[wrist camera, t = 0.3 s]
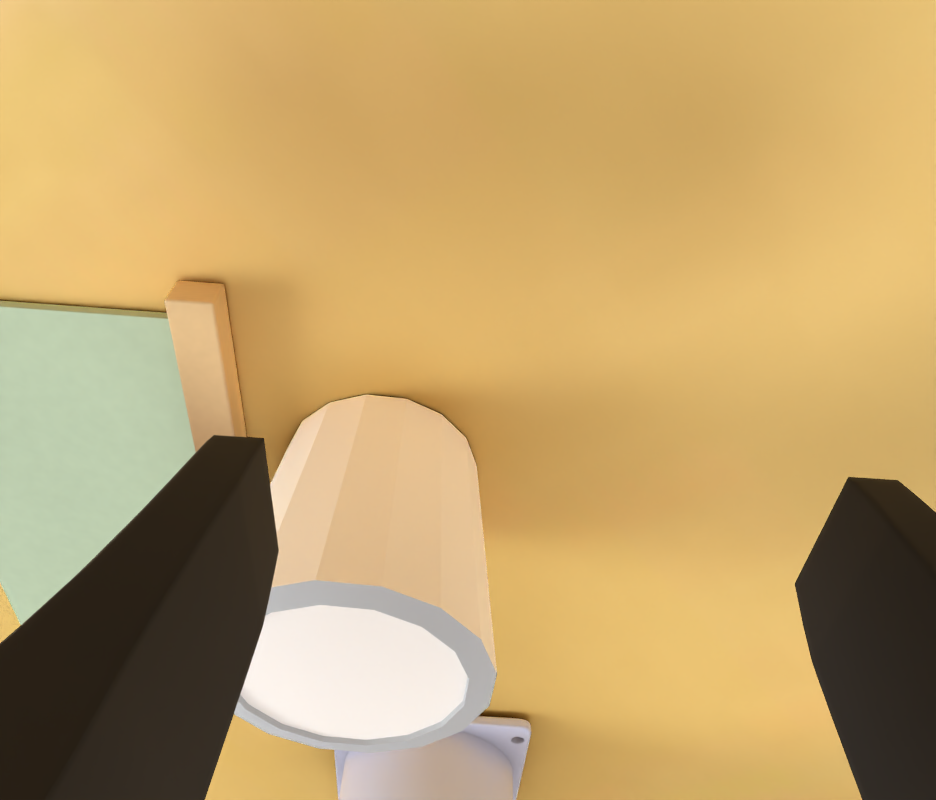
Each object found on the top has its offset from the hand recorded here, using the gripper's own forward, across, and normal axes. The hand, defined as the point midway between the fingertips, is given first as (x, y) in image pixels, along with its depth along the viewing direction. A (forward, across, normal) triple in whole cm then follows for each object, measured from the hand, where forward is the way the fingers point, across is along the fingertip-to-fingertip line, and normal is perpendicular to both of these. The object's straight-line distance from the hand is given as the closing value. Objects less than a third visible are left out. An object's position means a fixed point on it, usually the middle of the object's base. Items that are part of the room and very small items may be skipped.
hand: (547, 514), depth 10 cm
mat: (+10, +12, +13) cm, 20 cm away
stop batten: (+10, +8, +9) cm, 15 cm away
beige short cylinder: (+10, +3, +9) cm, 14 cm away
